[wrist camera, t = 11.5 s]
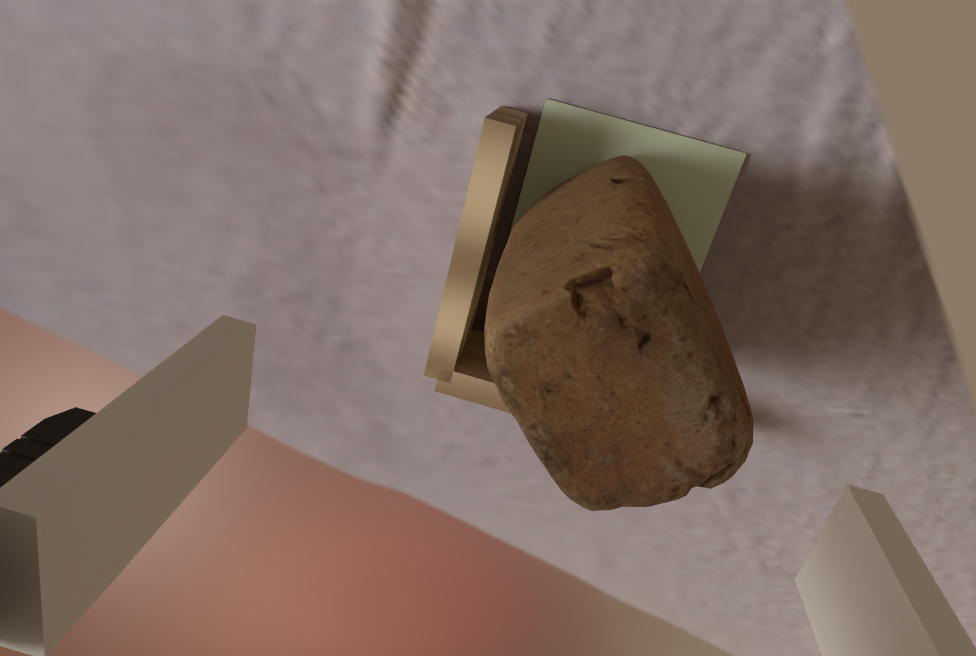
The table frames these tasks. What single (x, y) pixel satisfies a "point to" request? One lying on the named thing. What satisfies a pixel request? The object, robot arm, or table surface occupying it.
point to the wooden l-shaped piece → (475, 266)
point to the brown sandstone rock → (614, 345)
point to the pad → (667, 157)
